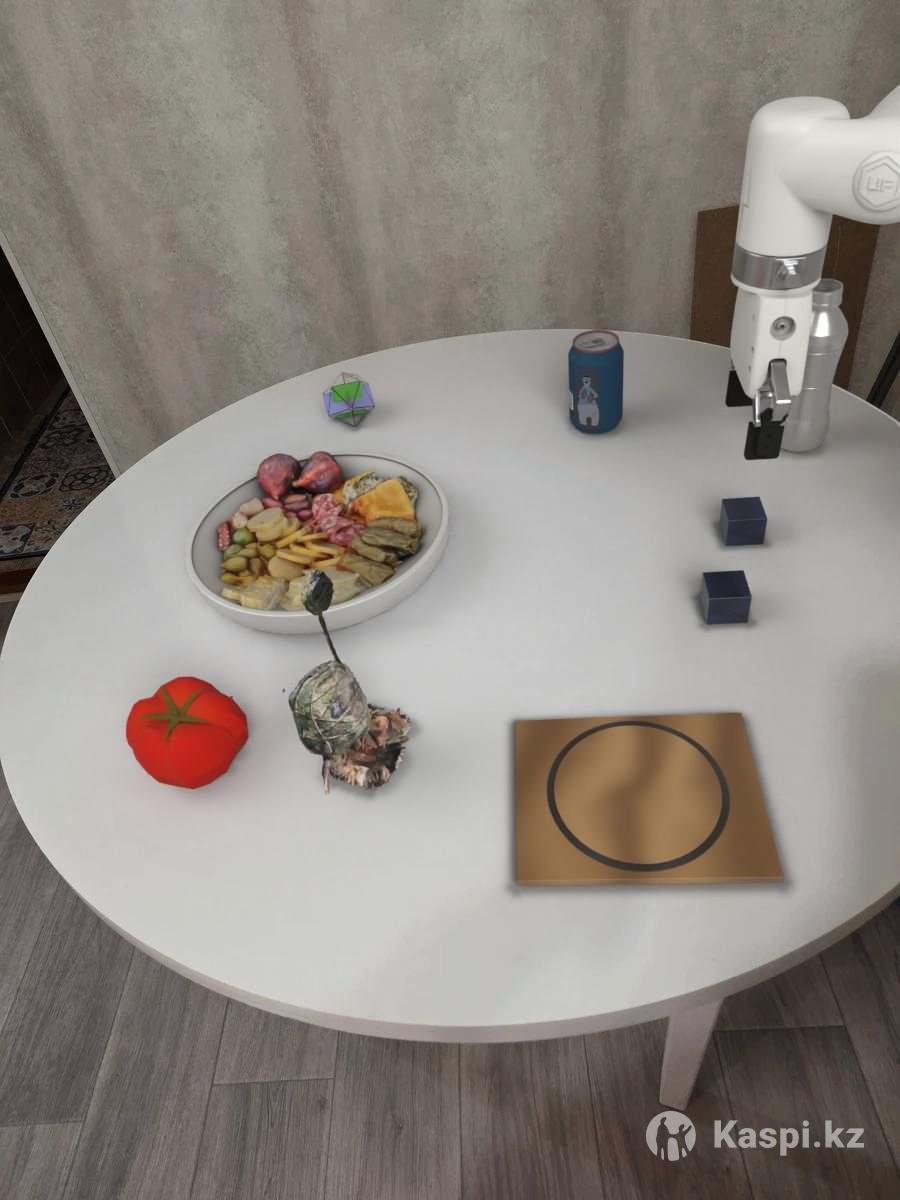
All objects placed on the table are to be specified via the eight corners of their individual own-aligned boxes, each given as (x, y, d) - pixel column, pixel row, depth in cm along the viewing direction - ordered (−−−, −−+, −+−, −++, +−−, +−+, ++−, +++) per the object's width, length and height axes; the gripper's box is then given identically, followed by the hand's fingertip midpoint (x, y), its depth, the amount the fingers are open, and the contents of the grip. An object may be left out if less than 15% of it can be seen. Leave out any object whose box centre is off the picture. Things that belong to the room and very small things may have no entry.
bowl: (503, 571, 95) (498, 514, 90) (252, 693, 86) (229, 638, 81) (381, 456, 116) (370, 404, 110) (167, 545, 106) (144, 493, 101)
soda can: (614, 407, 118) (615, 323, 110) (628, 432, 113) (631, 347, 105) (564, 415, 118) (562, 332, 110) (576, 442, 113) (575, 357, 105)
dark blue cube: (755, 521, 97) (759, 496, 94) (763, 544, 94) (767, 518, 92) (719, 523, 97) (721, 498, 95) (725, 546, 94) (728, 520, 92)
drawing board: (740, 718, 77) (741, 710, 76) (782, 882, 65) (784, 875, 65) (516, 725, 79) (515, 718, 79) (517, 886, 68) (516, 879, 67)
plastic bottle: (758, 447, 107) (781, 290, 94) (788, 423, 110) (814, 268, 97) (806, 464, 103) (836, 304, 90) (836, 440, 106) (870, 281, 93)
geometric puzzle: (380, 419, 119) (366, 361, 118) (331, 429, 118) (317, 371, 117) (378, 426, 126) (365, 371, 125) (332, 436, 125) (318, 381, 125)
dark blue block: (739, 595, 88) (743, 569, 86) (747, 622, 86) (752, 596, 83) (699, 597, 89) (702, 571, 87) (706, 624, 86) (709, 598, 84)
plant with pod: (287, 779, 78) (222, 620, 64) (371, 698, 84) (328, 537, 70) (352, 823, 74) (297, 662, 60) (435, 735, 80) (402, 571, 66)
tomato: (202, 696, 87) (181, 650, 82) (273, 745, 81) (255, 699, 77) (121, 761, 82) (94, 716, 77) (191, 819, 76) (166, 774, 71)
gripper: (851, 301, 69) (811, 478, 80) (797, 221, 81) (769, 385, 93) (753, 308, 69) (728, 482, 81) (716, 228, 82) (698, 389, 94)
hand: (750, 430), depth 87 cm, fingers open, 9 cm apart
